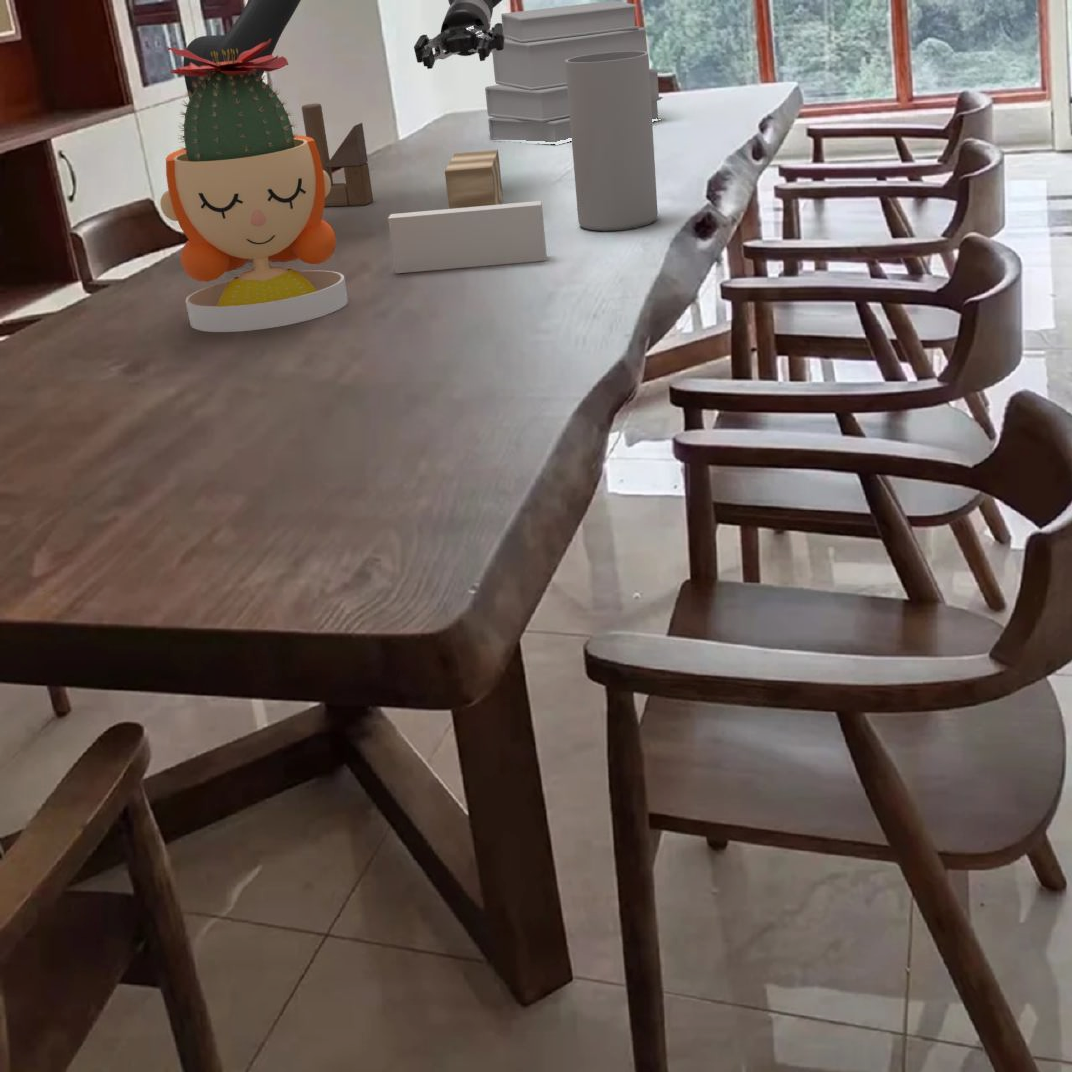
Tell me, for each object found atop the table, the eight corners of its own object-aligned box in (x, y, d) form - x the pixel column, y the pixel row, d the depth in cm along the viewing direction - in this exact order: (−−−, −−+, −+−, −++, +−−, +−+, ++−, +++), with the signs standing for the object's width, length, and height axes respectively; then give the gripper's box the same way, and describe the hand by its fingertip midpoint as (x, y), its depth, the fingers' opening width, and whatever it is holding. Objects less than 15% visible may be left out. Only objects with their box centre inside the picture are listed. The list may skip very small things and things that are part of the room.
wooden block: (366, 205, 254) (351, 103, 246) (312, 207, 257) (296, 107, 249) (374, 201, 257) (359, 100, 249) (321, 203, 260) (305, 103, 253)
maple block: (463, 228, 228) (454, 153, 223) (505, 224, 227) (497, 149, 222) (454, 250, 213) (444, 171, 208) (499, 247, 212) (491, 167, 208)
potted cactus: (359, 312, 184) (317, 33, 170) (189, 341, 179) (131, 56, 165) (333, 279, 203) (293, 25, 189) (179, 304, 198) (126, 45, 184)
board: (398, 268, 205) (390, 214, 202) (546, 255, 204) (541, 200, 200) (395, 273, 203) (387, 218, 199) (546, 260, 201) (540, 204, 198)
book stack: (474, 141, 313) (460, 20, 302) (586, 115, 333) (577, 1, 323) (564, 148, 292) (553, 18, 281) (678, 120, 312) (672, -2, 301)
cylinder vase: (615, 211, 228) (604, 51, 217) (674, 217, 219) (665, 50, 209) (562, 228, 220) (548, 62, 210) (621, 235, 211) (609, 62, 201)
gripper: (420, 8, 230) (405, 41, 217) (504, -5, 227) (494, 28, 215) (430, 53, 234) (416, 88, 222) (513, 40, 232) (503, 75, 219)
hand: (454, 58), depth 218 cm, fingers open, 8 cm apart
